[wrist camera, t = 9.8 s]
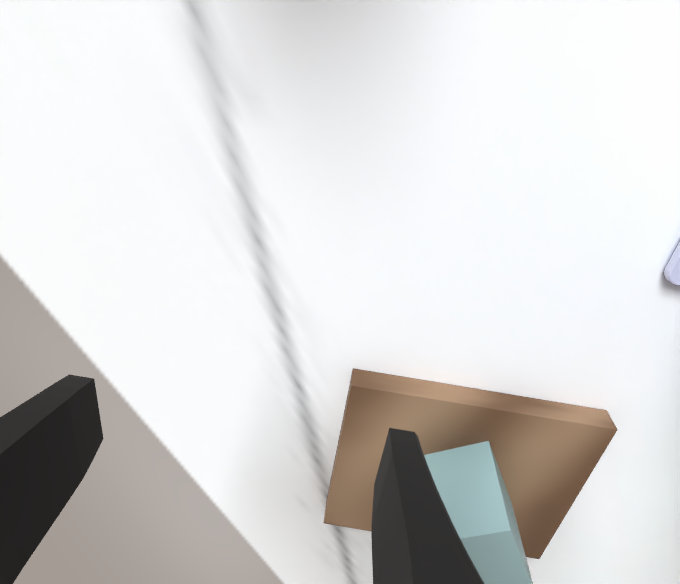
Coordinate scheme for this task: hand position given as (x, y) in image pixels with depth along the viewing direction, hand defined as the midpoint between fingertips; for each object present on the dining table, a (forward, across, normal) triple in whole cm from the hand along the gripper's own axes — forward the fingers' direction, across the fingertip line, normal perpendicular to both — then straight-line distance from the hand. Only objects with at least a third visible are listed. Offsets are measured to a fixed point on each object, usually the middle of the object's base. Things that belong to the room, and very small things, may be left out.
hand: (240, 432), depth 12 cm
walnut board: (+9, -9, +10) cm, 16 cm away
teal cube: (+8, -9, +10) cm, 16 cm away
